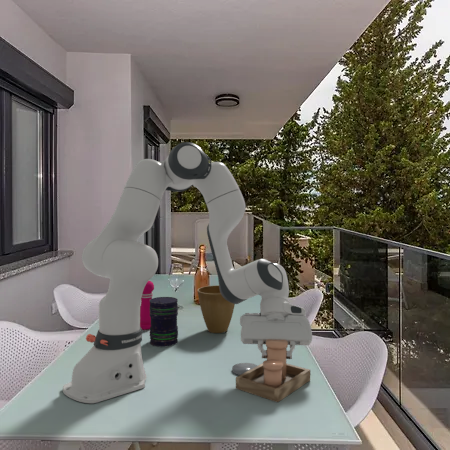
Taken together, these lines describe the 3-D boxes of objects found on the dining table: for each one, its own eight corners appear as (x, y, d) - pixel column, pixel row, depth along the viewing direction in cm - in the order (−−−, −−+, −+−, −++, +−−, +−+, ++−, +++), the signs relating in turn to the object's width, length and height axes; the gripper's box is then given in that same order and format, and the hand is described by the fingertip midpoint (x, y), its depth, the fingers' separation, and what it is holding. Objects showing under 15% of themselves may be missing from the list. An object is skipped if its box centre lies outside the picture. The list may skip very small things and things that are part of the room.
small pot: (276, 395, 112) (276, 368, 111) (258, 390, 115) (259, 363, 115) (286, 388, 116) (286, 362, 116) (269, 383, 119) (269, 358, 119)
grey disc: (249, 378, 125) (249, 375, 125) (226, 371, 130) (226, 368, 129) (264, 369, 131) (264, 367, 131) (242, 363, 136) (242, 360, 136)
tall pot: (280, 383, 119) (280, 346, 119) (261, 377, 123) (261, 342, 122) (291, 376, 124) (291, 340, 123) (273, 370, 128) (273, 336, 127)
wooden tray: (277, 402, 110) (277, 390, 110) (235, 388, 118) (235, 377, 118) (310, 380, 123) (310, 369, 123) (270, 369, 131) (270, 359, 131)
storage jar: (158, 336, 162) (158, 295, 161) (182, 339, 159) (182, 298, 158) (144, 344, 153) (143, 301, 152) (169, 348, 149) (169, 304, 148)
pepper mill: (152, 330, 169) (151, 278, 168) (134, 329, 170) (133, 277, 169) (158, 325, 176) (158, 275, 175) (141, 324, 177) (141, 274, 176)
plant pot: (211, 322, 179) (211, 283, 178) (243, 328, 172) (243, 287, 171) (189, 332, 167) (189, 290, 166) (223, 339, 159) (223, 295, 158)
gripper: (240, 307, 130) (238, 351, 121) (310, 308, 129) (314, 353, 120) (240, 318, 135) (239, 361, 126) (308, 319, 133) (312, 363, 124)
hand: (276, 357), depth 123 cm, fingers closed on tall pot, 5 cm apart
